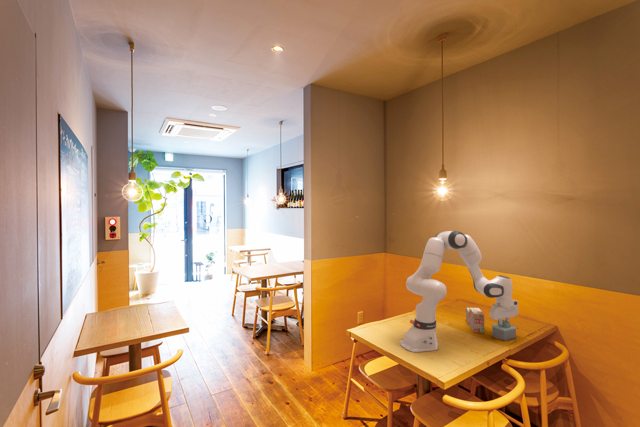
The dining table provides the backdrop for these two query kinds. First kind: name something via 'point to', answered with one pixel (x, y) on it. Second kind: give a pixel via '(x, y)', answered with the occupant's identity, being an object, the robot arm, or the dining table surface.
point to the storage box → (504, 334)
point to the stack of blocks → (475, 319)
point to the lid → (504, 326)
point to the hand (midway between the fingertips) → (503, 324)
